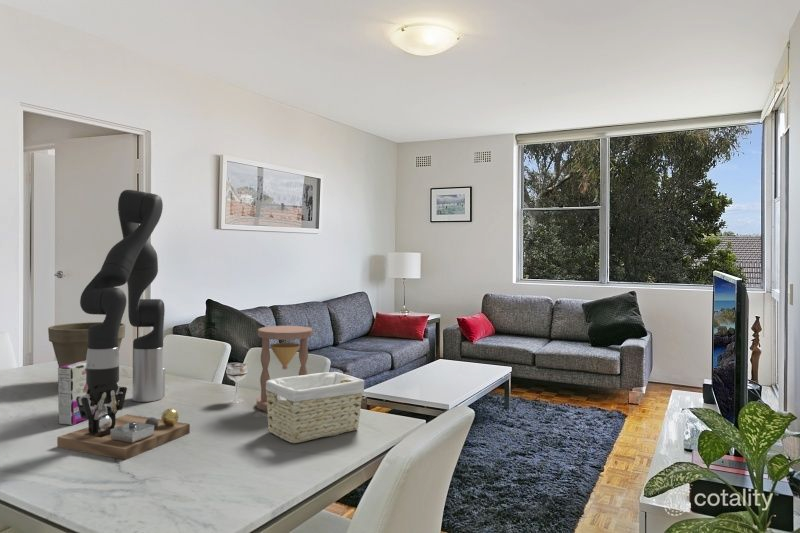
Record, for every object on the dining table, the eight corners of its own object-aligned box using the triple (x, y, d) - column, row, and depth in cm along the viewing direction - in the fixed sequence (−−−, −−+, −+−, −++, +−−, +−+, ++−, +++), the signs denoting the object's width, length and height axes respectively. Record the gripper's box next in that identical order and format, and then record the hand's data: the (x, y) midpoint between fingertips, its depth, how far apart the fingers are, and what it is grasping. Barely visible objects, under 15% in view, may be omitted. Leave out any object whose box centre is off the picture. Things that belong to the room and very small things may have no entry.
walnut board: (127, 423, 163) (127, 414, 163) (189, 433, 155) (189, 423, 155) (57, 446, 142) (57, 436, 142) (125, 459, 135) (125, 449, 135)
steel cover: (132, 430, 147) (132, 417, 147) (154, 434, 145) (154, 421, 145) (110, 438, 141) (110, 425, 141) (132, 442, 138) (132, 428, 138)
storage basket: (333, 417, 173) (334, 369, 173) (366, 431, 161) (367, 379, 161) (261, 432, 158) (262, 379, 157) (291, 448, 145) (292, 391, 145)
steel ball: (103, 427, 149) (103, 411, 149) (115, 429, 148) (115, 413, 148) (88, 432, 145) (88, 415, 145) (101, 434, 144) (101, 417, 143)
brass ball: (169, 421, 157) (169, 406, 157) (182, 423, 155) (182, 407, 155) (157, 426, 153) (157, 410, 152) (170, 428, 151) (170, 411, 151)
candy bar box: (86, 413, 171) (86, 359, 171) (100, 415, 170) (101, 360, 170) (56, 424, 160) (57, 366, 160) (72, 425, 159) (72, 367, 159)
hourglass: (305, 397, 197) (306, 324, 196) (316, 410, 180) (318, 331, 180) (253, 400, 190) (254, 326, 190) (259, 414, 174) (261, 333, 174)
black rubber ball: (151, 427, 152) (151, 415, 152) (160, 428, 151) (161, 416, 151) (142, 430, 149) (142, 418, 149) (151, 432, 148) (151, 419, 148)
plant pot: (52, 379, 215) (53, 322, 214) (125, 374, 225) (125, 320, 224) (42, 394, 192) (43, 330, 191) (124, 389, 202) (124, 328, 202)
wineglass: (250, 399, 192) (250, 363, 192) (242, 404, 186) (243, 367, 185) (230, 398, 193) (231, 362, 193) (222, 403, 186) (223, 366, 186)
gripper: (90, 371, 138) (89, 441, 138) (136, 361, 151) (135, 425, 152) (67, 368, 141) (66, 437, 141) (114, 359, 154) (113, 421, 154)
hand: (102, 430), depth 146 cm, fingers closed on steel ball, 4 cm apart
